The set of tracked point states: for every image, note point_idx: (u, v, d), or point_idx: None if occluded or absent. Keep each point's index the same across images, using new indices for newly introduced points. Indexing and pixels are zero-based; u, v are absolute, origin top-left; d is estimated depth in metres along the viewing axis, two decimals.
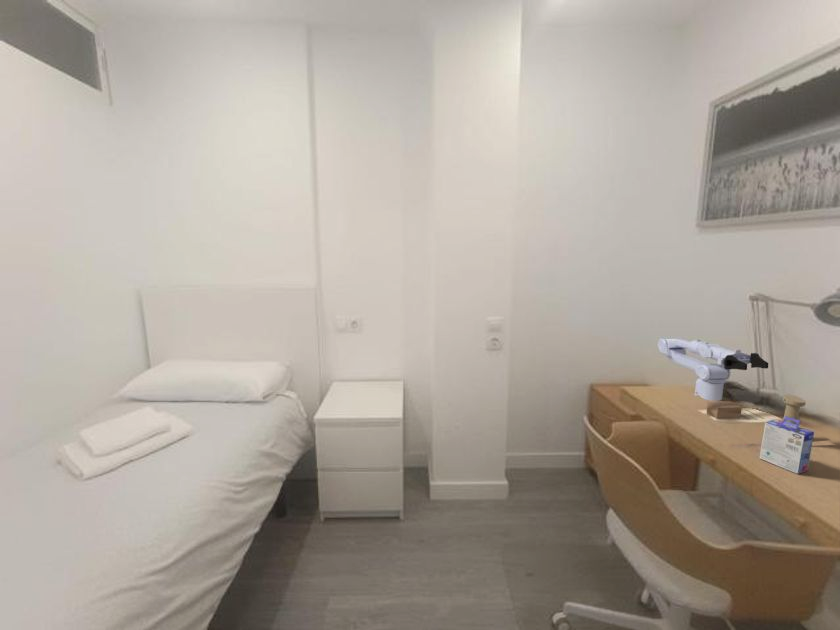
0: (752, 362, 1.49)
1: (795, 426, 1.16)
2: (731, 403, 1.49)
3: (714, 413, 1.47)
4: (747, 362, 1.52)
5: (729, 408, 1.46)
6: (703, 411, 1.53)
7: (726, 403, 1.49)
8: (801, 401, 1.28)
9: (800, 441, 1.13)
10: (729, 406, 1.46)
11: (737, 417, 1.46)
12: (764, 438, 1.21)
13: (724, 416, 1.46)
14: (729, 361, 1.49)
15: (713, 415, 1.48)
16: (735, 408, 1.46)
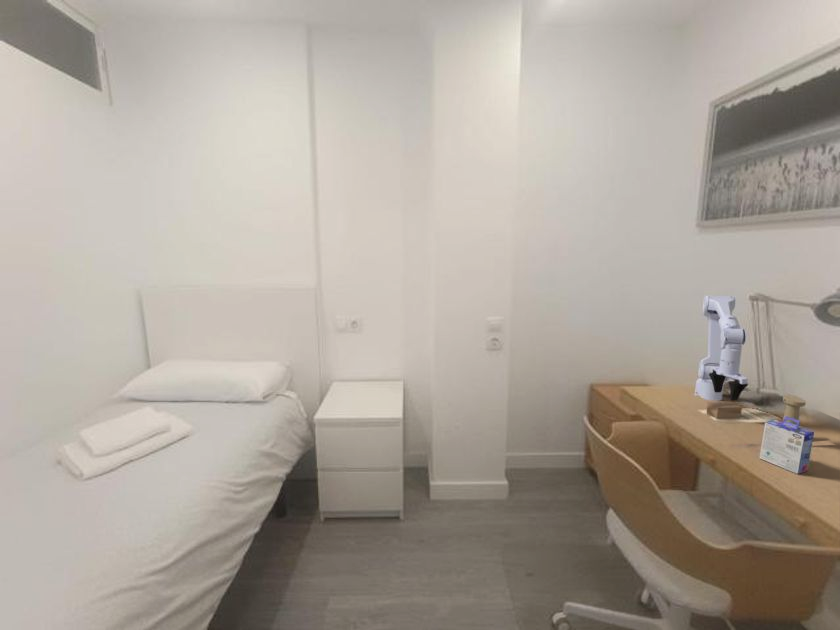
0: None
1: (795, 426, 1.16)
2: (731, 403, 1.49)
3: (714, 413, 1.47)
4: None
5: (729, 408, 1.46)
6: (703, 411, 1.53)
7: (726, 403, 1.49)
8: (801, 401, 1.28)
9: (800, 441, 1.13)
10: (729, 406, 1.46)
11: (737, 417, 1.46)
12: (764, 438, 1.21)
13: (724, 416, 1.46)
14: None
15: (713, 415, 1.48)
16: (735, 408, 1.46)
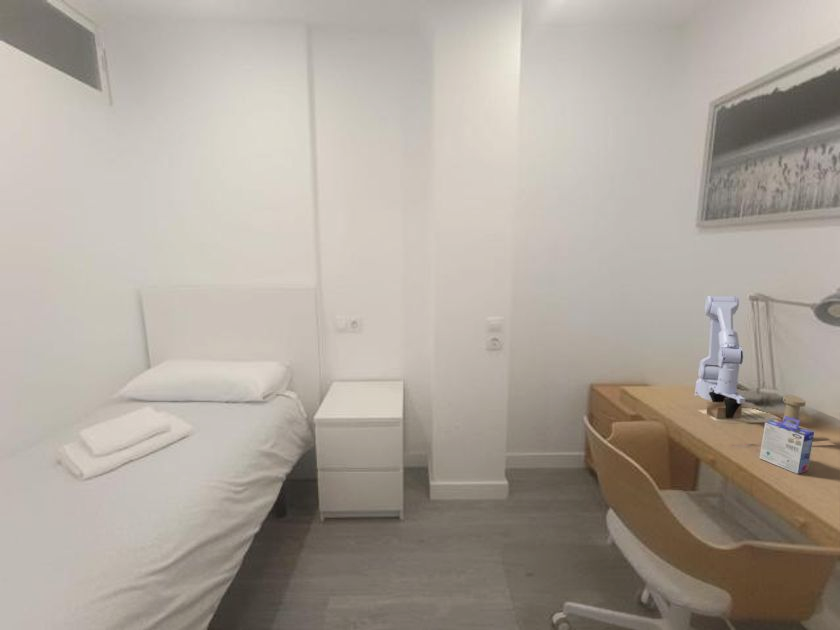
0: None
1: (795, 426, 1.16)
2: None
3: (714, 413, 1.47)
4: None
5: None
6: (703, 411, 1.53)
7: None
8: (801, 401, 1.28)
9: (800, 441, 1.13)
10: None
11: (737, 417, 1.46)
12: (764, 438, 1.21)
13: (724, 416, 1.46)
14: None
15: (713, 415, 1.48)
16: None
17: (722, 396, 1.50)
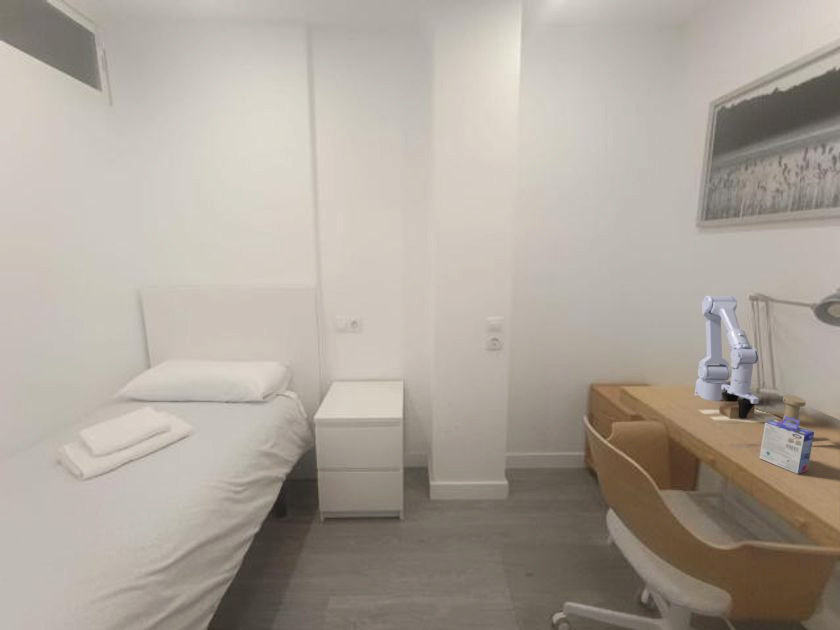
0: None
1: (795, 426, 1.16)
2: None
3: (726, 413, 1.48)
4: None
5: None
6: (703, 411, 1.53)
7: None
8: (801, 401, 1.28)
9: (800, 441, 1.13)
10: None
11: (750, 416, 1.47)
12: (764, 438, 1.21)
13: (737, 415, 1.46)
14: None
15: (726, 414, 1.48)
16: None
17: (735, 396, 1.51)
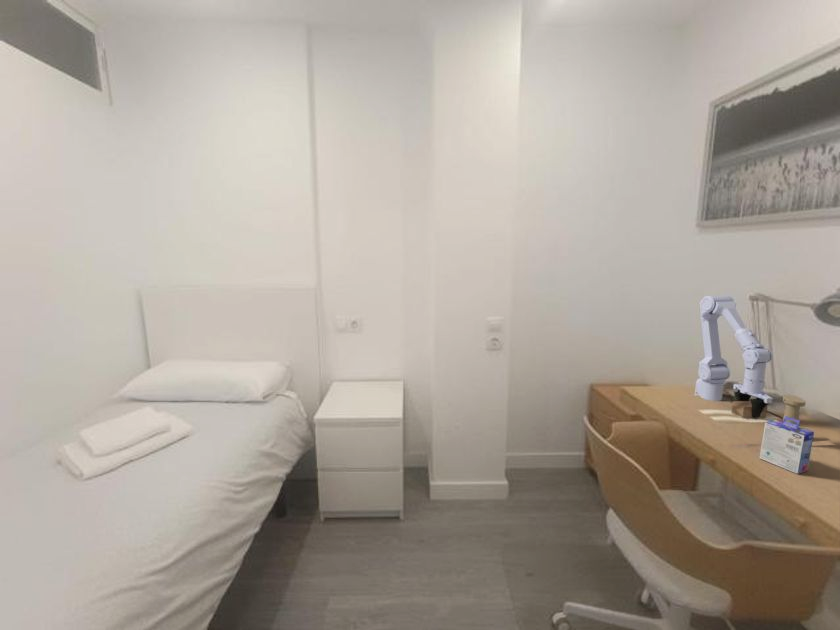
0: None
1: (795, 426, 1.16)
2: None
3: (739, 412, 1.48)
4: None
5: None
6: (703, 411, 1.53)
7: None
8: (801, 401, 1.28)
9: (800, 441, 1.13)
10: None
11: (763, 416, 1.47)
12: (764, 438, 1.21)
13: (750, 415, 1.46)
14: None
15: (739, 414, 1.48)
16: None
17: (747, 396, 1.51)
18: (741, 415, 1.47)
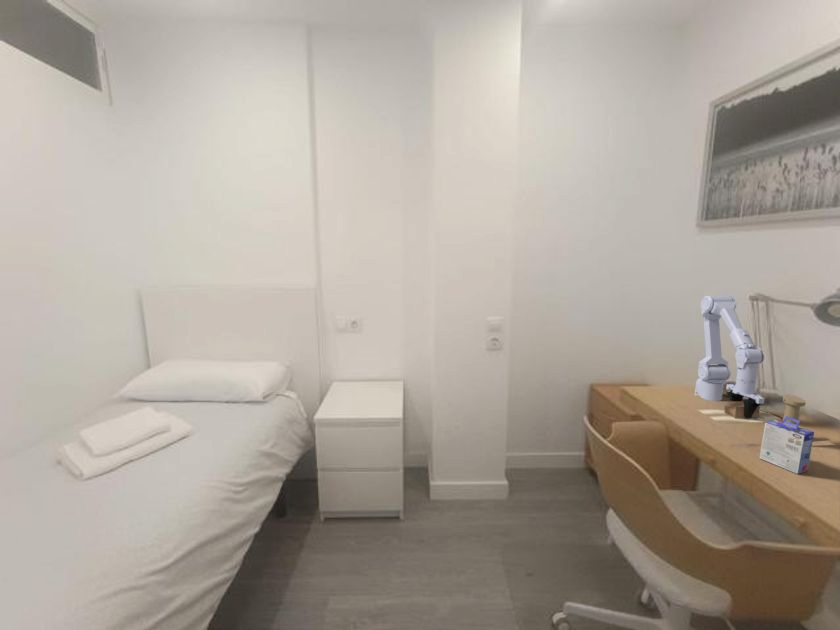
0: None
1: (795, 426, 1.16)
2: None
3: (732, 412, 1.48)
4: None
5: None
6: (703, 411, 1.53)
7: None
8: (801, 401, 1.28)
9: (800, 441, 1.13)
10: None
11: (755, 416, 1.47)
12: (764, 438, 1.21)
13: (742, 415, 1.46)
14: None
15: (731, 414, 1.48)
16: None
17: (740, 396, 1.51)
18: (733, 415, 1.47)
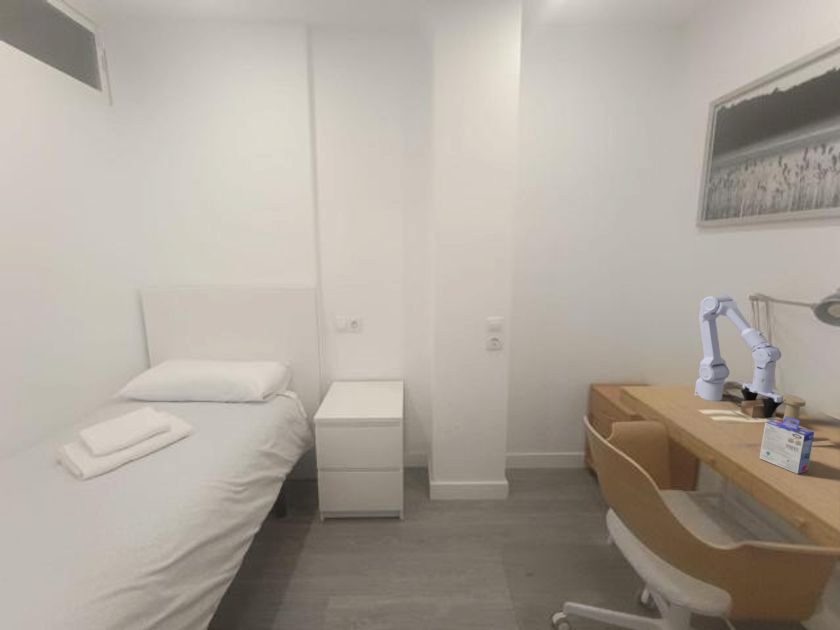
0: None
1: (795, 426, 1.16)
2: None
3: (748, 412, 1.48)
4: None
5: None
6: (703, 411, 1.53)
7: (760, 402, 1.49)
8: (801, 401, 1.28)
9: (800, 441, 1.13)
10: None
11: (772, 416, 1.47)
12: (764, 438, 1.21)
13: (759, 415, 1.47)
14: None
15: (748, 414, 1.48)
16: None
17: (754, 394, 1.52)
18: (750, 415, 1.47)
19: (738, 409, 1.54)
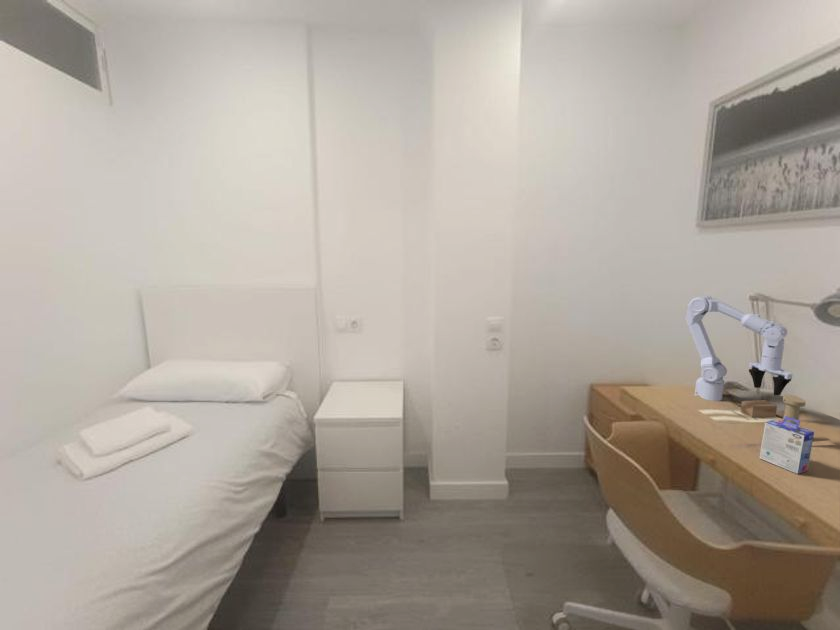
0: None
1: (795, 426, 1.16)
2: (765, 402, 1.49)
3: (748, 412, 1.48)
4: None
5: (764, 407, 1.46)
6: (703, 411, 1.53)
7: (760, 402, 1.49)
8: (801, 401, 1.28)
9: (800, 441, 1.13)
10: (764, 405, 1.47)
11: (772, 416, 1.47)
12: (764, 438, 1.21)
13: (759, 415, 1.47)
14: None
15: (748, 414, 1.48)
16: (770, 406, 1.46)
17: (762, 372, 1.54)
18: (750, 415, 1.47)
19: (738, 409, 1.54)
